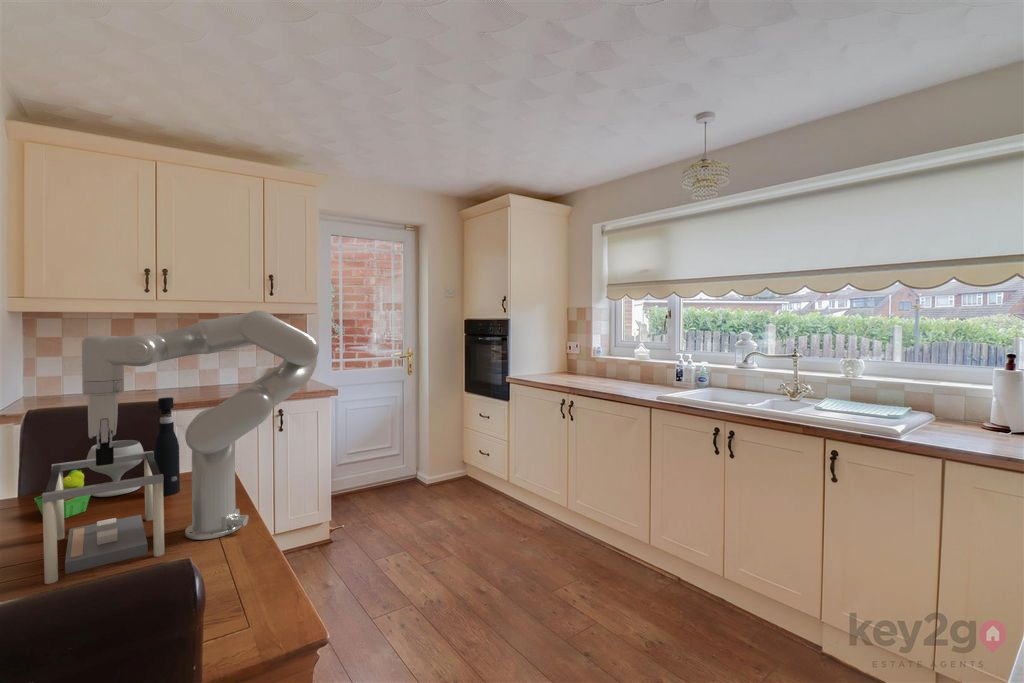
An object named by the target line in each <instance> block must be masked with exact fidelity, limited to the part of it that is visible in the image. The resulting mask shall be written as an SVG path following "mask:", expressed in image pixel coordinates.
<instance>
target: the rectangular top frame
mask: <svg viewBox="0 0 1024 683" xmlns="http://www.w3.org/2000/svg"><path fill="white" fill-rule="evenodd" d="M142 459H143V460H144V459H147V461H148V464H149V467H150V470H151V472H152V476H146V477H144V476H140V477H134V478H128V479H120V481H115V482H113V481H110V482H103V483H96V484H90V485H84V486H83V487H77V488H71V489H65V490H58V491H55V489H56V485H57V481H58V477H59V473H60V471H63V472H64V471H69V470H71V471H72V470H79V469H84V468H89V467H92V466H96V459H88V460H87V459H81V460H73V461H67V462H60V463H52V464H51V467H50V468H51V473H50V476H49V479H48V482H47V486H46V489H45V492H42V494H41V496H42V503H45V502H51V501H57V500H63V499H69V498H74V497H80V496H86V495H91V496H92V494H98V493H104V492H110V491H116V490H121V489H127V488H133V487H139V486H141V487H143V486H144V487H145V485H151V484H157V483H163V482H164V476H163V474H160V471H159V469H158V466H157V464H156V462H155V459H154V450H150V451H144V452H141V453H133V454H126V455H118V456H114V463H121V462H128V461H135V460H142ZM143 460H142V461H143ZM114 463H113V464H114Z"/></svg>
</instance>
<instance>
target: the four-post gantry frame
mask: <svg viewBox="0 0 1024 683" xmlns="http://www.w3.org/2000/svg"><path fill="white" fill-rule="evenodd" d="M143 464H144V466H143V467H144V468H143V469H144V470H143V472H144V473H143V474H144V476H143V477H146V476H152V472H151V470H150V467H149V464H148V461H147V459H143ZM63 478H64V471H60V473H59V477H58V481H57V485H56V489H55V491H58V490H63ZM164 503H165V502H164V496H163V483H157V484H151V485H145V486H144V516H145V517H144V521H146V522H150V521H152V524H153V525H152V527H153V528H152V530H153V533H152V535H153V538H152V540H153V542H152V543H153V557H154V558H155V557H156V558H157V557H163V556H164V555H165V509H164V507H165V506H164V505H165V504H164ZM144 521H143V517H142V514H136V515H131V516H128V517H127V516H126V517H121V518H116V526H117V536H118V541H113V542H109V543H104V544H100V545H97V522H96V523H91V524H87V525H82V526H77V527H72V528H69V530H68V537H67V545H66V550H65V552H66V553H65V561H64V574H65V575H67V574H72V573H77V572H80V571H85V570H89V569H93V568H96V567H100V566H104V565H108V564H114V563H117V562H120V561H121V562H122V561H126V560H128V559H133V558H138V557H141V556H145V555H146V556H147V555H148V553H149V552H148V550H149V549H148V540H147V536H146V532H145V530H146V529H145V526H144ZM42 528H43V529H42V530H43V531H42V532H43V564H44V565H43V566H44V569H43V571H44V573H43V574H44V584H45V585H51V584H54V583H57V582H58V581H59V569H58V568H59V565H58V563H59V562H58V559H59V558H58V541H60V540H62V539H64V538H65V518H64V499H63V500H57V501H51V502H45V503H43V515H42Z"/></svg>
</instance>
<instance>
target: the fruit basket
mask: <svg viewBox="0 0 1024 683" xmlns="http://www.w3.org/2000/svg"><path fill="white" fill-rule="evenodd" d="M83 486H85V474H84V473H83V470H81V469H72V470H71V471H70V472H69V473H68V474H67V476H65V477H63V490H65V489H71V488H77V487H83ZM91 496H92V495H86V496H80V497H74V498H69V499H64V519H67V518H70V517H72V516H73V517H74V516H75V515H79V514H81V513H84V512H86V510H87V507H88V504H89V501H90V498H91ZM34 502H35V503H36V505H37V507H38V509H39V512H40V514H41V515H42V516H43V503H42V495H40V496H36V497H34Z"/></svg>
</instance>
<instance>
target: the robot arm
mask: <svg viewBox="0 0 1024 683" xmlns="http://www.w3.org/2000/svg"><path fill="white" fill-rule="evenodd" d="M252 345H254V346H257V347H259V348H260V349H262V350H264V351H267V352H268V353H270V354H273V355H274V356H276V357H279V358H280V359H282V361H281V362H280V363H279V365H277V366H276V367H274V368H273V369H272V370H270V371H268V372H267V373H265V374H264V375H262V376H261V377H259V378H257V379H255V381H252V382H251V383H249V384H246V385H244V386H242V387H241V388H239V389H238V390H237V391H236V392H235V393H234V394H233V395H232V396H230V397H229V398H227V399H226V400H224V401H222V402H221V403H219V404H217V405H216V406H214V407H210V408H206V409H204V410H202V411H200V412H199V413H198V414H196V415H195V417H194V418H193V419H192V420H191V421H190V423H188V424H189V425H188V426H187V427H186V430H185V436H184V437H185V438H184V439H185V443H186V445H187V446H188V448H189V449H190V450H191V514H192V516H191V517H192V519H191V520H192V523H191V524H190V525H189V526H187V527H186V528H185V530H184V531H185V533H184V536H185V538H188V539H190V540H198V541H199V540H200V541H203V540H212V539H217V538H221V537H224V536H227V535H230V534H232V533H234V532H236V531H238V530H239V529H241V527H245V526H247V525H248V521H249V518H250V517H249V514H240V508H236V441H237V440H239V439H241V438H242V437H244V436H245V435H246V434H248V433H250V432H251V431H252V430H254V429H256V428H257V427H258V426H260V425H261V424H262V423H264V422H265V421H266V420H267V419H268V417H269V416H270V414H271V412H272V410H273V409H274V408H275V407H277V406H278V405H279V404H281V403H283V402H284V401H285V400H287V399H289V397H292V395H294V394H296V392H298V391H299V390H300V389H302V388H303V387H304V386H305V385H306V384H307V383H308V382H309V381H310V379H311V378H312V377H313V374H314V372H315V369H316V366H317V362H318V355H319V353H320V347H319V346H320V345H319V343H318V341H317V340H316V338H314V336H312V335H311V334H309V333H307V332H305V331H303V330H301V329H299V328H297V327H295V326H293V325H291V324H289V323H287V322H285V321H283V320H281V319H279V318H278V317H276V316H275V315H272V314H271V313H270V312H268V311H265V310H262V309H261V310H259V309H258V310H252V311H249V312H244V313H241V314H240V313H239V314H234V315H229V316H222V317H217V318H213V319H207V320H202V321H199V322H196V323H194V324H191V325H189V326H188V325H187V326H184V327H179V328H174V329H169V330H164V331H158V332H153V333H152V332H151V333H145V334H137V335H128V336H119V335H89V336H85V337H84V338H83V339H82V340H81V376H82V377H81V378H82V383H81V384H82V385H81V386H82V388H81V389H82V396H86V397H88V398H87V399H88V400H87V423H88V424H87V426H88V427H87V428H88V429H87V431H88V432H87V433H88V438H89V439H93V438H94V437H96V445H97V448H96V466H102V465H109V464H113V463H114V450H113V446H112V441H113V437H114V436H116V435H117V427H118V415H119V413H118V412H119V410H118V408H119V402H118V401H119V399H118V398H119V396H118V395H120V394H124V393H125V369H124V368H125V366H128V367H130V366H131V367H145V366H149V365H153V364H155V363H160V362H164V361H168V360H172V359H178V358H183V357H189V356H194V355H210V354H215V353H216V354H217V353H220V352H225V351H229V350H234V349H238V348H244V347H248V346H252Z"/></svg>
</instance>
